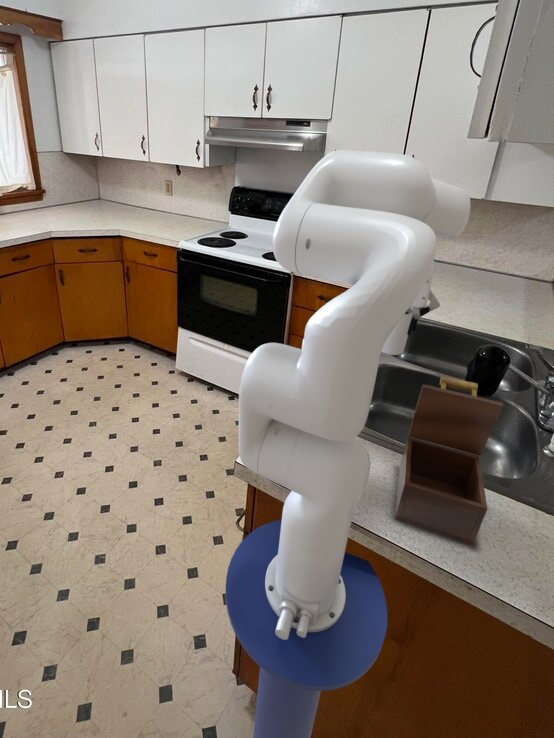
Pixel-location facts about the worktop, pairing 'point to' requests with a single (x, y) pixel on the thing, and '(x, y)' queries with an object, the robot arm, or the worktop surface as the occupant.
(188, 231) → the worktop surface
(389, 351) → the white cup
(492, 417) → the lid
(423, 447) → the chest
